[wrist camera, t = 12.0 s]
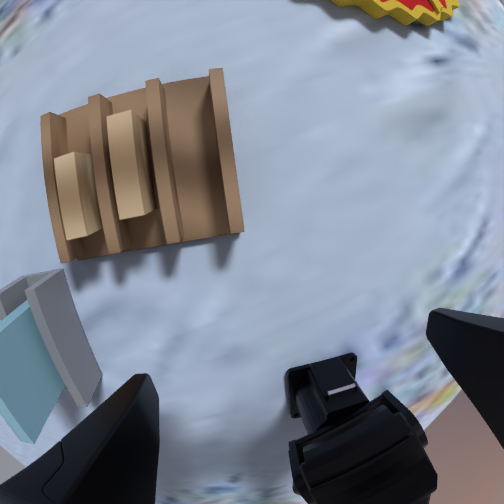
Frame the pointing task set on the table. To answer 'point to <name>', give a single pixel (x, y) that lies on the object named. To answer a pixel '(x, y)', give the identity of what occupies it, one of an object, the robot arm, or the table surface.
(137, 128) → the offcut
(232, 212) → the rack
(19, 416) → the tall sheet
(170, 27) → the table surface
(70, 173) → the offcut small
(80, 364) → the holder
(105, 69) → the table surface
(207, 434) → the table surface
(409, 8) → the decorative plaque
